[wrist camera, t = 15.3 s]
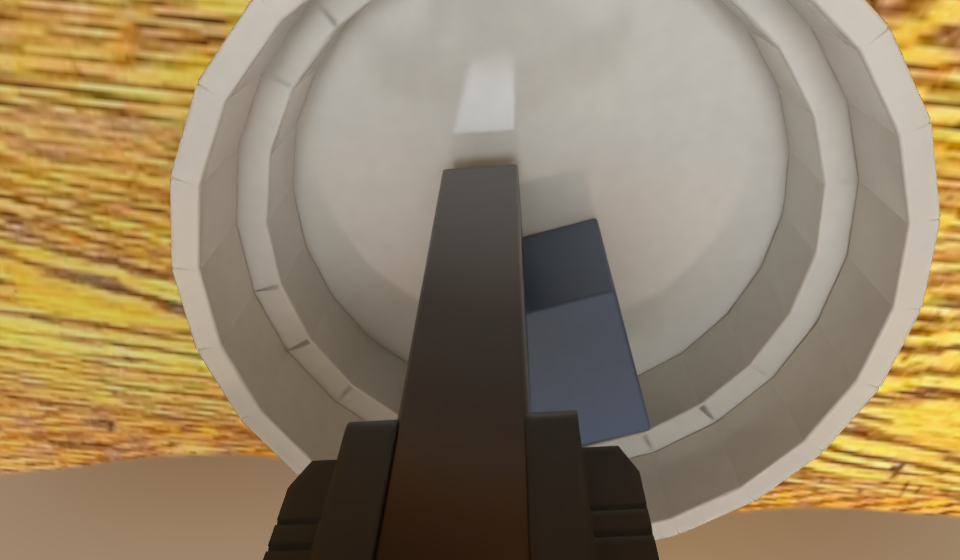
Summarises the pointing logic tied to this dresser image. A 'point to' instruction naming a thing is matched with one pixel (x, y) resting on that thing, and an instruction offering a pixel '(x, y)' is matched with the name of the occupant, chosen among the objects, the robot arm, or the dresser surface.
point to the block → (579, 334)
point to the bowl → (567, 210)
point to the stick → (465, 385)
